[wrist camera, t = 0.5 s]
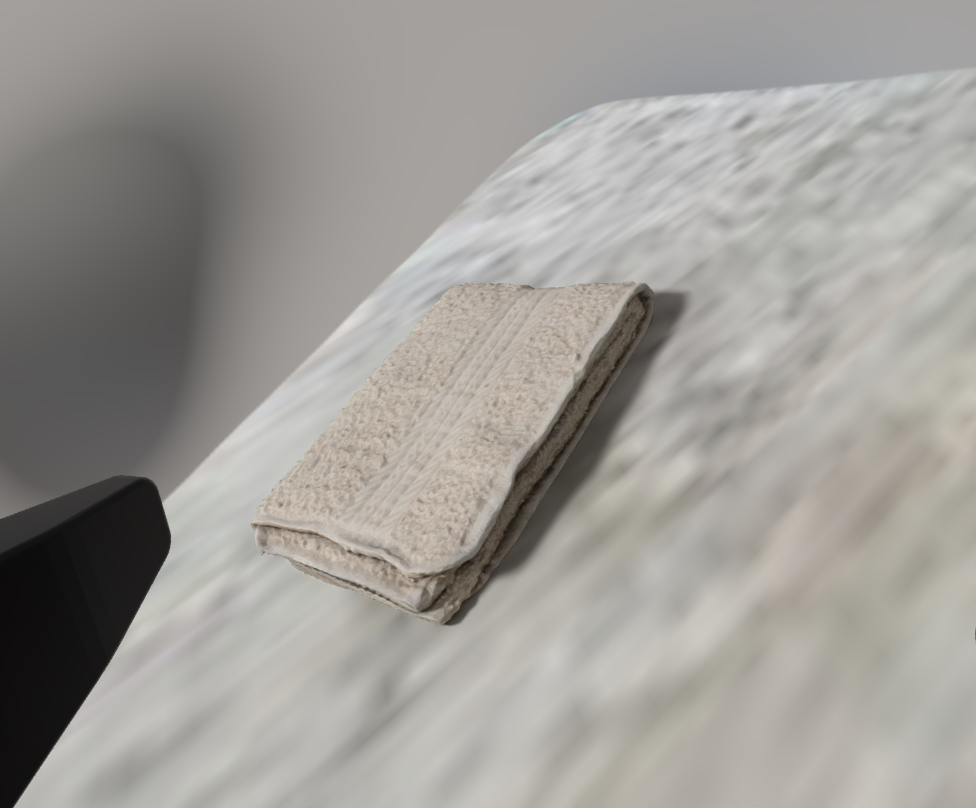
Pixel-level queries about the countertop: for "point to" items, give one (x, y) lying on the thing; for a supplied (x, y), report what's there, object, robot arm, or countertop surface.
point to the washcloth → (453, 442)
